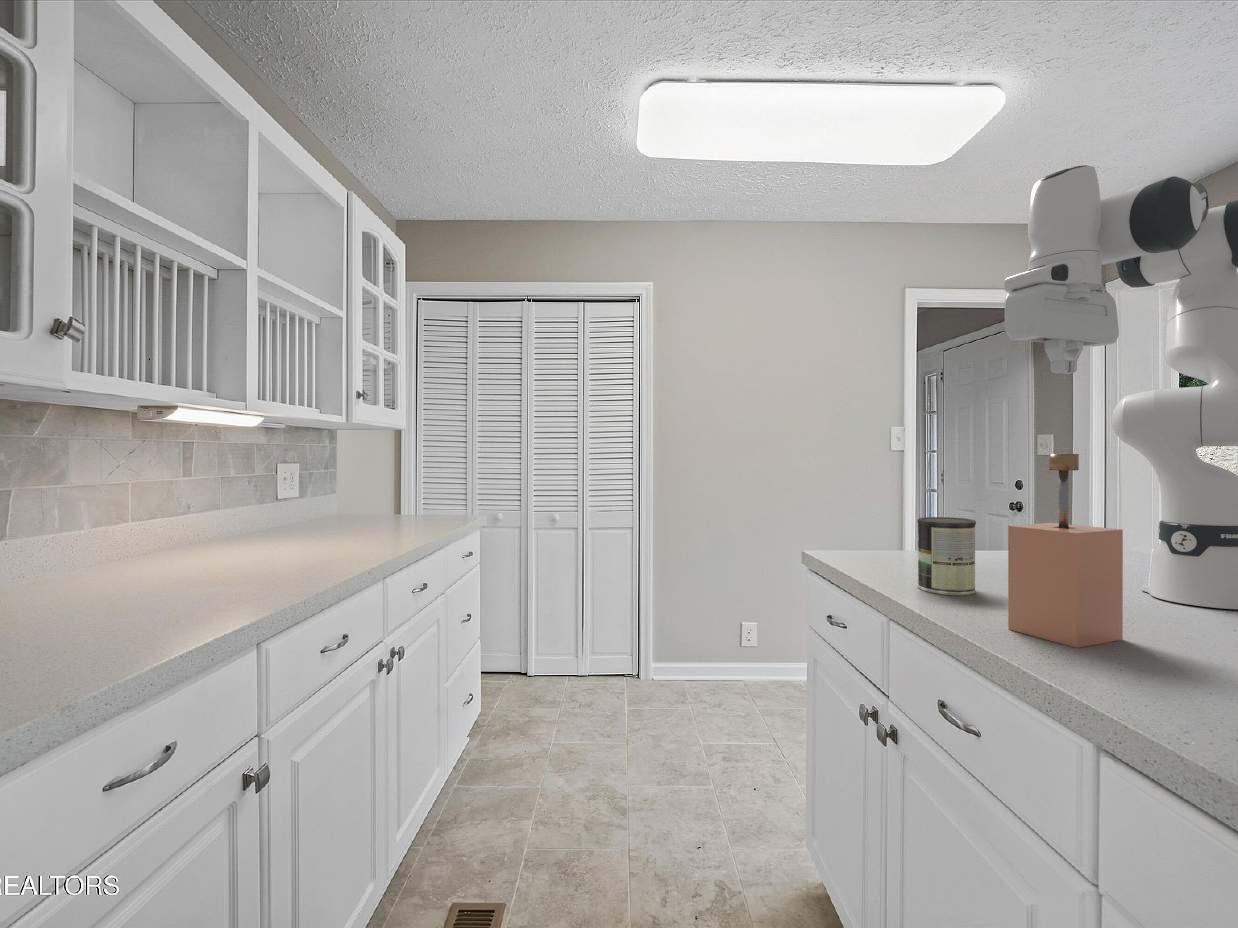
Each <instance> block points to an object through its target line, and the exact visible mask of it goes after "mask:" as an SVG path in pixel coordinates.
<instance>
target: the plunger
mask: <svg viewBox="0 0 1238 928" xmlns="http://www.w3.org/2000/svg"><path fill="white" fill-rule="evenodd" d="M1079 457H1080V454H1079V453H1049V454H1048V470H1049V471H1058V523H1059V528H1063V529H1069V524H1070V523H1069V519H1070V517H1069V514H1070V513H1069V509H1070V507H1069V506H1070V502H1069V495H1070V493H1069V492H1070V489H1069V486H1070V485H1069V483H1070V482H1069V481H1070V480H1069V479H1070V478H1069V477H1070V476H1069V475H1070V474H1069V471H1080V468H1079V467H1080V461H1079V460H1080V458H1079Z"/></svg>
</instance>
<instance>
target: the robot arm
mask: <svg viewBox="0 0 1238 928" xmlns="http://www.w3.org/2000/svg"><path fill="white" fill-rule="evenodd" d="M1097 174H1098V173H1097V170H1096V168H1095V166H1093V165H1075V166H1073V167H1070V168H1063V169H1061V170H1059V171H1056V172H1052V173H1051V174H1047V175H1045V176H1043V177H1042V178H1041V179H1039V180H1038V181H1036V183H1035V184H1034V185H1033V187H1032V191H1031V195H1030V201H1029V208H1028V218H1027V219H1028V220H1027V221H1028V223H1027V237H1028V241H1029V244H1030V255H1029V259H1028V262H1027V271H1024V272H1020V273H1017V274H1015V275H1014V274H1013V275H1011V276H1008V277H1006V278H1005V279H1004V285H1003V286H1004V291H1005V292H1006V293H1008V294H1006V298H1005V301H1004V327H1005V328H1004V329H1005V333H1006V335H1007V336H1008V338H1009V339H1010V340H1011V341H1020V342H1021V341H1023V342H1032V343H1033V342H1034V343H1035V342H1036V343H1044V351H1045V354H1046V356H1047V358H1048V360H1049V362H1050V372H1051V373H1053V374H1067V375H1069V374H1075V373H1076V372H1077V371H1078V360H1079V358H1080V356H1081V354H1082V352H1083V351H1084V347H1101V346H1107V345H1108V346H1109V345H1112V344H1115V343H1116V342H1117V340H1118V338H1119V336H1120V335H1119V333H1120V332H1119V319H1118V316H1119V315H1118V309H1117V303H1116V301H1115V298H1114V297H1113V296H1112V295H1111V293H1110V292H1108V290H1107V289H1106V286H1105V285H1102V266H1103V265H1107V264H1108V265H1109V264H1112V263H1115V269H1116V272H1117V274H1118V276H1119V277H1118V278H1120V280H1121V281H1122V283H1123V284H1125V285H1127V286H1129V287H1130V288H1134V289H1135V288H1147V287H1148V288H1149V287H1153V286H1155V285H1156V284H1159V283H1160V284H1162V283H1166V282H1172V281H1177V280H1178V281H1177V283H1176V284H1175V287H1174V289H1173V292H1172V295H1171V299H1170V301H1169V307H1168V311H1167V318H1166V319H1167V320H1166V333H1165V335H1166V336H1165V337H1166V338H1165V360H1166V363H1167V364H1168V366H1169V367H1170V368H1171V369H1173V370H1174V371H1175V372H1177V373H1180V374H1181V375H1183V376H1187V377H1191V378H1194V379H1198V380H1201V381H1202V382H1204V383H1206V385H1203V386H1202V385H1201V386H1189V387H1188V386H1186V387H1169V388H1158V389H1151V390H1145V391H1141V392H1137V393H1132V394H1128V395H1125V396H1124V397H1123V398H1121V399H1120V400H1119V402H1117V404H1116V405H1115V407H1114V409H1113V412H1112V414H1111V424H1112V428H1113V431H1114V433H1115V435H1116V436H1117V438H1119V440H1121V441H1122V442H1123V443H1124V444H1126V445H1128V446H1130V447H1132V448H1133V449H1134V450H1137V451H1138V453H1140V454H1141V455H1143V457H1144V458H1146V459H1147V461H1148V462H1149V463H1150V464H1151V466H1152V467H1153V470H1154V471H1155V474H1156V476H1157V478H1158V481H1159V488H1160V494H1161V495H1160V496H1161V518H1162V519H1161V520H1160V521H1159V525H1158V527H1157V532H1158V539H1159V540H1160V543H1159V544H1158V546H1156V547H1154V548H1153V549H1152V550H1151V554H1150V564H1149V575H1148V584H1141V588H1140V590H1141V591H1143V592H1145V593H1147V594H1149V595H1150V596H1152V597H1154V598H1157V599H1160V600H1164V601H1167V602H1173V603H1177V604H1184V605H1191V606H1198V607H1205V608H1212V609H1213V608H1215V609H1227V610H1238V474H1236V473H1234V472H1233V471H1230V470H1228V469H1225V468H1223V467H1220V466H1217V465H1215V464H1212V463H1209V462H1206V461H1205V460H1203V459H1201V458H1200V457H1199V456H1198V454H1197V450H1198V449H1199V448H1203V447H1238V199H1237V200H1233V201H1232V200H1231V201H1229V202H1227V203H1226V204H1224V205H1220V206H1215V207H1211V208H1209V196H1208V191H1207V189H1206V187H1205V185H1204V184H1202V183H1201V182H1199V183H1198V182H1196V183H1195V182H1193V181H1192V180H1189V179H1186V178H1182V177H1179V176H1177V175H1176V176H1173V175H1172V176H1170V177H1161V178H1156V179H1151V180H1148V181H1145V182H1142V183H1139V184H1138V185H1135V186H1133V187H1131V188H1129V189H1128V190H1127V191H1125V192H1123V193H1120V194H1117V195H1113V196H1109V197H1105V198H1103V199H1101V192H1100V191H1101V190H1100V185H1099V179H1098V175H1097Z"/></svg>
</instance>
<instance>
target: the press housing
mask: <svg viewBox="0 0 1238 928" xmlns="http://www.w3.org/2000/svg"><path fill="white" fill-rule="evenodd" d="M1007 530H1008V531H1007V532H1008V533H1007V537H1008V539H1007V541H1008V543H1007V547H1008V549H1007V550H1008V551H1007V554H1008V555H1007V560H1008V561H1007V562H1008V563H1007V566H1008V569H1007V571H1008V574H1007V575H1008V576H1007V581H1008V583H1007V585H1008V587H1007V591H1008V593H1007V595H1008V596H1007V597H1008V599H1007V600H1008V601H1007V603H1008V605H1007V607H1008V608H1007V609H1008V620H1007V621H1008V622H1007V625H1008V630H1010V631H1014V632H1017V633H1021V634H1024V635H1028V636H1032V637H1036V638H1040V639H1042V640H1045V641H1046V640H1047V641H1050V642H1053V643H1058V644H1062V645H1065V646H1069V647H1072V648H1076V649H1079V648H1083V647H1089V646H1093V645H1095V646H1096V645H1099V644H1107V643H1110V642H1116V641H1121V640H1122V641H1123V630H1124V629H1123V628H1124V627H1123V624H1124V622H1123V620H1124V619H1123V618H1124V617H1123V616H1124V615H1123V614H1124V613H1123V611H1124V609H1123V603H1124V602H1123V599H1124V597H1123V594H1124V593H1123V591H1124V590H1123V585H1124V583H1123V581H1124V580H1123V574H1124V573H1123V571H1124V569H1123V568H1124V567H1123V565H1124V564H1123V563H1124V562H1123V561H1124V560H1123V558H1124V557H1123V554H1124V553H1123V552H1124V551H1123V549H1124V548H1123V547H1124V545H1123V543H1124V542H1123V541H1124V536H1123V534H1124V532H1123V531H1124V530H1123V528H1122V529H1121V528H1120V529H1119V528H1112V527H1110V528H1109V527H1098V526H1089V525H1079V524H1070V523H1069V529H1063V528H1059V522H1045V523H1044V522H1043V523H1029V524H1028V523H1027V524H1017V525H1015V524H1014V525H1008V526H1007Z"/></svg>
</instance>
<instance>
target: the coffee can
mask: <svg viewBox="0 0 1238 928" xmlns="http://www.w3.org/2000/svg"><path fill="white" fill-rule="evenodd" d="M916 521H917V529H918V530H917V534H918V535H917V539H918V540H917V541H918V542H917V549H918V551H917V553H918V555H917V561H918V564H917V567H918V570H917V571H918V575H917V576H918V577H917V579H918V581H917V582H918V584H917V588H918V589H919V590H921V591H923V592H926V593H930V594H935V595H936V594H937V595H945V596H946V595H947V596H969V595H973V594H975V593H976V524H977V522H976V520H974V519H972V518H964V517H962V518H961V517H949V516H948V517H947V516H946V517H944V516H928V517H927V516H925V517H919V518H917V520H916Z"/></svg>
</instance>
